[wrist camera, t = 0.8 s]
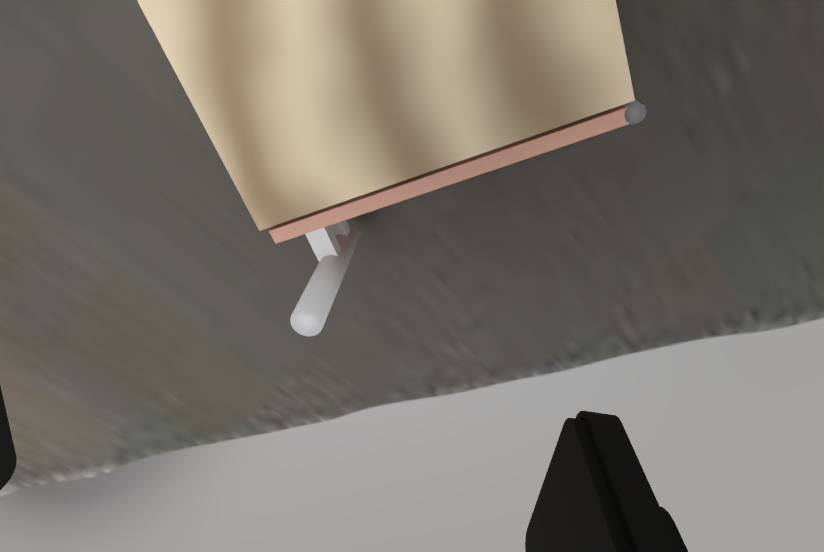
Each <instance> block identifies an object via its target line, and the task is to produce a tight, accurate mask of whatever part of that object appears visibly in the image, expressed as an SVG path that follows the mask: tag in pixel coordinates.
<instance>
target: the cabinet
mask: <svg viewBox="0 0 824 552" xmlns="http://www.w3.org/2000/svg"><path fill="white" fill-rule="evenodd" d="M137 1H138V3H139V5H140V7H141V8H142V10H143V12H144V14H145V16H146V18H147V20H148V22H149V24H150V25H151V27H152V29H153V31H154V33H155V35H156V37H157V39H158V41H159V42H160V44H161V46H162V48H163V50H164V52H165V54H166V56H167V57H168V59H169V61H170V63H171V65H172V67H173V69H174V71H175V73H176V74H177V76H178V78H179V80H180V82H181V84H182V86H183V88H184V90H185V91H186V93H187V95H188V97H189V99H190V101H191V103H192V105H193V106H194V108H195V110H196V112H197V114H198V116H199V118H200V120H201V122H202V123H203V125H204V127H205V129H206V131H207V133H208V135H209V137H210V138H211V140H212V142H213V144H214V146H215V148H216V150H217V152H218V154H219V155H220V157H221V159H222V161H223V163H224V165H225V167H226V169H227V171H228V172H229V174H230V176H231V178H232V180H233V182H234V184H235V186H236V187H237V189H238V191H239V193H240V195H241V197H242V199H243V201H244V203H245V204H246V206H247V208H248V210H249V212H250V214H251V216H252V218H253V220H254V221H255V223H256V225H257V227H258V229H259V231H260V230H263V229H266V228H269V227H272V226H275V225H278V224H280V223H283V222H286V221H289V220H292V219H295V218H298V217H301V216H304V215H306V214H309V213H312V212H315V211H318V210H321V209H324V208H327V207H329V206H332V205H335V204H338V203H341V202H344V201H347V200H350V199H353V198H355V197H358V196H361V195H364V194H367V193H370V192H373V191H376V190H378V189H381V188H384V187H387V186H390V185H393V184H396V183H399V182H402V181H404V180H407V179H410V178H413V177H416V176H419V175H422V174H425V173H427V172H430V171H433V170H436V169H439V168H442V167H445V166H448V165H451V164H453V163H456V162H459V161H462V160H465V159H468V158H471V157H474V156H476V155H479V154H482V153H485V152H488V151H491V150H494V149H497V148H500V147H502V146H505V145H508V144H511V143H514V142H517V141H520V140H523V139H525V138H528V137H531V136H534V135H537V134H540V133H543V132H546V131H549V130H551V129H554V128H557V127H560V126H563V125H566V124H569V123H572V122H574V121H577V120H580V119H583V118H586V117H589V116H592V115H595V114H598V113H600V112H603V111H606V110H609V109H612V108H615V107H618V106H621V105H623V104H626V103H629V102H632V101H635V98H634V93H633V87H632V82H631V77H630V72H629V67H628V62H627V56H626V51H625V46H624V41H623V36H622V31H621V26H620V20H619V15H618V10H617V5H616V0H137Z"/></svg>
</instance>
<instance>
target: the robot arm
mask: <svg viewBox="0 0 824 552" xmlns="http://www.w3.org/2000/svg"><path fill="white" fill-rule="evenodd" d="M15 467H16V453H15V449H14V444H13V440H12V436H11V431H10V427H9V422H8V418H7V413H6V409H5V405H4V400H3V396H2V391H1V387H0V490H1V489H2V488H3V487H4V485H5V484H6V483H7V482H8V481H9V479H10V478H11V476H12V474H13V473H14V470H15ZM525 546H526V552H688V550H687V548H686V546H685V544H684V542H683V540H682V538H681V535H680V533H679V531H678V529H677V527H676V525H675V523H674V521H673V519H672V518H671V516H670V514H669V513H668V512H667V511H666V510H665V509H664V508H662V507H659V504H658V502H657V500H656V498H655V496H654V493H653V491H652V489H651V487H650V485H649V482H648V481H647V478H646V476H645V473H644V472H643V469H642V467H641V465H640V463H639V460H638V458H637V456H636V454H635V451H634V449H633V447H632V445H631V443H630V440H629V438H628V436H627V434H626V431H625V429H624V427H623V425H622V423H621V421H620V419H619V418H618V417H617V416H615V415H608V414H601V413H595V412H587V411H580V412H579V413H578V414H577V416H576V418H575V419H573V418H568V419H567V420H566V421H565V423H564V425H563V428H562V431H561V434H560V437H559V440H558V442H557V445H556V448H555V451H554V454H553V457H552V460H551V462H550V465H549V468H548V471H547V474H546V477H545V480H544V482H543V485H542V488H541V491H540V494H539V497H538V500H537V502H536V505H535V508H534V511H533V514H532V517H531V520H530V523H529V525H528V528H527V533H526V543H525Z"/></svg>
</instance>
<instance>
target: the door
mask: <svg viewBox="0 0 824 552" xmlns="http://www.w3.org/2000/svg"><path fill="white" fill-rule="evenodd" d="M645 116H646V108H645V106H644V105H643V104H642V103H640V102H638V101H636V100H635V101H632V102H629V103H626V104H623V105H621V106H618V107H615V108H612V109H609V110H606V111H603V112H600V113H598V114H595V115H592V116H589V117H586V118H583V119H580V120H577V121H574V122H572V123H569V124H566V125H563V126H560V127H557V128H554V129H551V130H549V131H546V132H543V133H540V134H537V135H534V136H531V137H528V138H525V139H523V140H520V141H517V142H514V143H511V144H508V145H505V146H502V147H500V148H497V149H494V150H491V151H488V152H485V153H482V154H479V155H476V156H474V157H471V158H468V159H465V160H462V161H459V162H456V163H453V164H451V165H448V166H445V167H442V168H439V169H436V170H433V171H430V172H427V173H425V174H422V175H419V176H416V177H413V178H410V179H407V180H404V181H402V182H399V183H396V184H393V185H390V186H387V187H384V188H381V189H378V190H376V191H373V192H370V193H367V194H364V195H361V196H358V197H355V198H353V199H350V200H347V201H344V202H341V203H338V204H335V205H332V206H329V207H327V208H324V209H321V210H318V211H315V212H312V213H309V214H306V215H304V216H301V217H298V218H295V219H292V220H289V221H286V222H283V223H280V224H278V225H275V226H273V227H272V228H271V229H270V231H269V232H270V234H271V236H272V238H273V240H274V242H275V243H279V242H282V241H285V240H288V239H291V238H294V237H297V236H300V235H303V234H305V235H306V237H307V239H308V241H309V243H310V245H311V247H312V249H313V251H314V253H315V255H316V257H317V259H318V261H319V264H318V266H317V268H316V269H315V271H314V273H313V275H312V277H311V279H310V281H309V283H308V285H307V287H306V289H305V290H304V292H303V294H302V296H301V298H300V300H299V302H298V304H297V306H296V308H295V310H294V311H293V313H292V315H291V319H290V321H291V325H292V327H293V329H294V330H295V331H296V332H298V333H299V334H301V335H304V336H314V335H316V334H318V333H319V332H320V331H321V330H322V328H323V326H324V323H325V321H326V318H327V316H328V313H329V311H330V309H331V306H332V304H333V301H334V299H335V296H336V294H337V292H338V289H339V287H340V284H341V282H342V279H343V277H344V275H345V272H346V270H347V267H348V265H349V262H350V260H351V257H352V255H353V253H354V250H355V248H356V245H357V243H358V240H359V238H360V232H359V229H358V228H357V227H356V226H355V225H354V224H352V223H347V221H346V220H347V219H350V218H353V217H356V216H359V215H362V214H365V213H368V212H371V211H374V210H377V209H380V208H383V207H386V206H389V205H392V204H395V203H397V202H400V201H403V200H406V199H409V198H412V197H415V196H418V195H421V194H424V193H427V192H430V191H433V190H436V189H439V188H442V187H445V186H448V185H451V184H454V183H457V182H460V181H463V180H465V179H468V178H471V177H474V176H477V175H480V174H483V173H486V172H489V171H492V170H495V169H498V168H501V167H504V166H507V165H510V164H513V163H516V162H519V161H522V160H525V159H528V158H531V157H533V156H536V155H539V154H542V153H545V152H548V151H551V150H554V149H557V148H560V147H563V146H566V145H569V144H572V143H575V142H578V141H581V140H584V139H587V138H590V137H593V136H596V135H599V134H601V133H604V132H607V131H610V130H613V129H616V128H619V127H622V126H625V125H628V124H637V123H640V122H641V121H642V120H643V119H644V118H645Z"/></svg>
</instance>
